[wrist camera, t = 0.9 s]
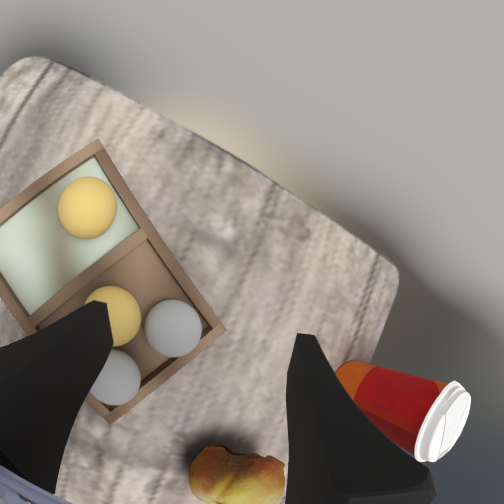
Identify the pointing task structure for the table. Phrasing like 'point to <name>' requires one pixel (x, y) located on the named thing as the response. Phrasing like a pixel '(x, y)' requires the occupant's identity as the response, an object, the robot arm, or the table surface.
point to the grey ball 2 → (172, 328)
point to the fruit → (236, 477)
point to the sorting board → (93, 267)
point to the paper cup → (408, 407)
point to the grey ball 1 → (117, 379)
